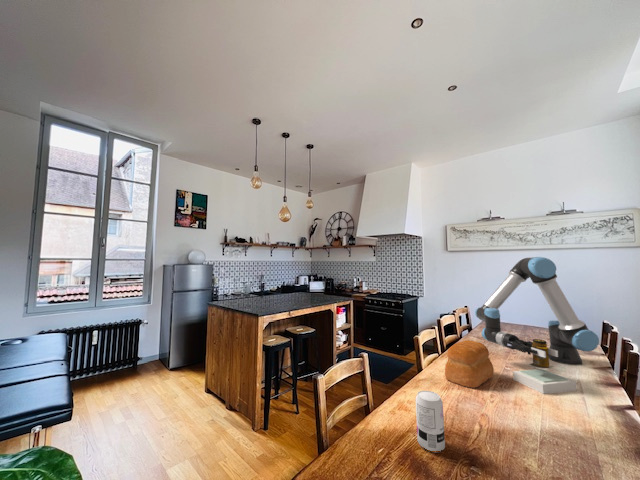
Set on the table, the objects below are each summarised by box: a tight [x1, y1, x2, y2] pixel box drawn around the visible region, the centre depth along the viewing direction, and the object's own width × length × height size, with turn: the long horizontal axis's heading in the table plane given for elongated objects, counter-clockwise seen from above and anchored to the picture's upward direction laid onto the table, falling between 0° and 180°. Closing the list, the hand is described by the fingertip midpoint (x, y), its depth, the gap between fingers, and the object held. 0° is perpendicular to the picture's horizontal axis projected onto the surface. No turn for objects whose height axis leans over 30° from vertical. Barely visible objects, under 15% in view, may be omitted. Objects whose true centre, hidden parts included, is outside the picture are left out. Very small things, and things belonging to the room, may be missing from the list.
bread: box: [444, 340, 495, 389], centre depth 135 cm, size 16×26×17 cm, turn 128°
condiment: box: [527, 338, 554, 370], centre depth 127 cm, size 7×8×12 cm
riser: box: [512, 368, 578, 395], centre depth 126 cm, size 18×15×5 cm
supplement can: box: [415, 390, 446, 452], centre depth 85 cm, size 8×8×15 cm
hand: (551, 354), depth 122 cm, fingers closed on condiment, 6 cm apart
